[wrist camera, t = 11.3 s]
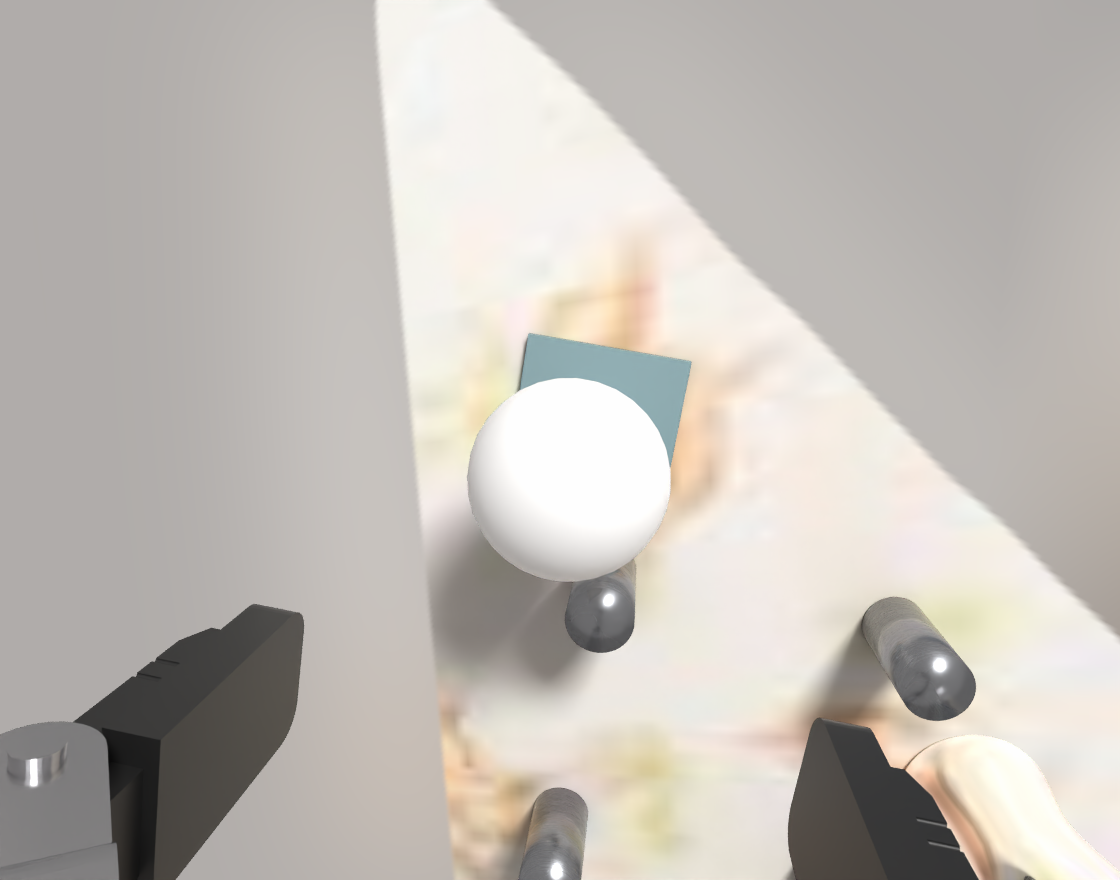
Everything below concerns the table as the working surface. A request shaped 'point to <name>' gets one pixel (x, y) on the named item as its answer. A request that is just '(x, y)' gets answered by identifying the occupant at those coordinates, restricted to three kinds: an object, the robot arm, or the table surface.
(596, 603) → the spacers
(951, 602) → the table surface
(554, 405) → the lightbulb
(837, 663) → the table surface
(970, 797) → the beer glass
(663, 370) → the mat
